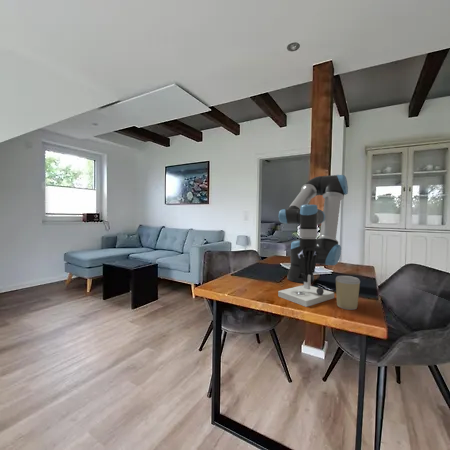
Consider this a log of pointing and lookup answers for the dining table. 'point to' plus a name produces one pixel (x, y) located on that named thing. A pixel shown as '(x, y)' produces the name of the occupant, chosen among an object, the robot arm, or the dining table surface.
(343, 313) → the dining table surface
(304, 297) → the board
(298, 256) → the robot arm
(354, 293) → the coffee cup
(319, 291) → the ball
